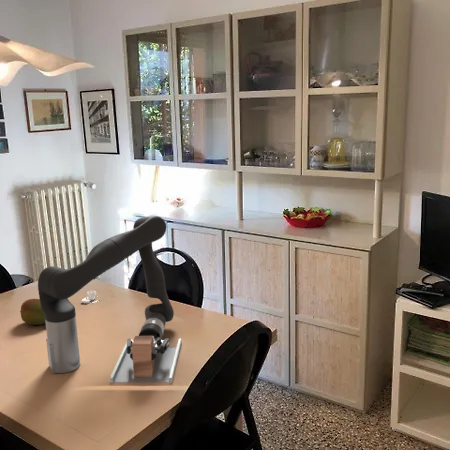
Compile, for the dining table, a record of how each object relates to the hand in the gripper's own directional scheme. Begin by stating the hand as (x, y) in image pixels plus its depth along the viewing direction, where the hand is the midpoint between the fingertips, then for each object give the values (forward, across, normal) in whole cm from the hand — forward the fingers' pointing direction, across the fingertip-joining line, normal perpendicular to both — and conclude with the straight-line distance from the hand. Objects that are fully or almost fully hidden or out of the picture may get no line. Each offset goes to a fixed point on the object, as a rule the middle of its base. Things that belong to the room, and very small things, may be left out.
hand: (142, 357), depth 153 cm
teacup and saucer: (-65, -38, +8) cm, 75 cm away
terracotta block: (-1, 0, +6) cm, 6 cm away
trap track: (-9, 0, +7) cm, 11 cm away
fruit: (-41, -48, +7) cm, 64 cm away
